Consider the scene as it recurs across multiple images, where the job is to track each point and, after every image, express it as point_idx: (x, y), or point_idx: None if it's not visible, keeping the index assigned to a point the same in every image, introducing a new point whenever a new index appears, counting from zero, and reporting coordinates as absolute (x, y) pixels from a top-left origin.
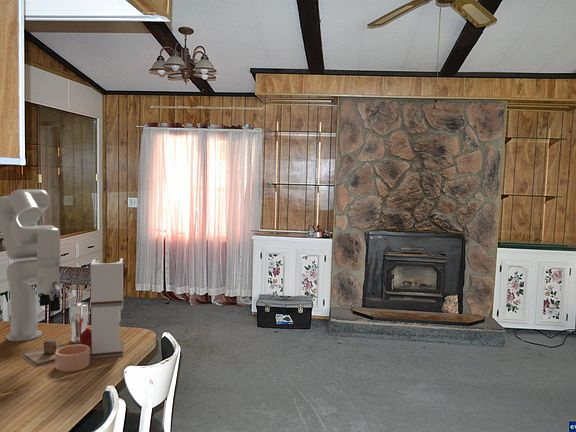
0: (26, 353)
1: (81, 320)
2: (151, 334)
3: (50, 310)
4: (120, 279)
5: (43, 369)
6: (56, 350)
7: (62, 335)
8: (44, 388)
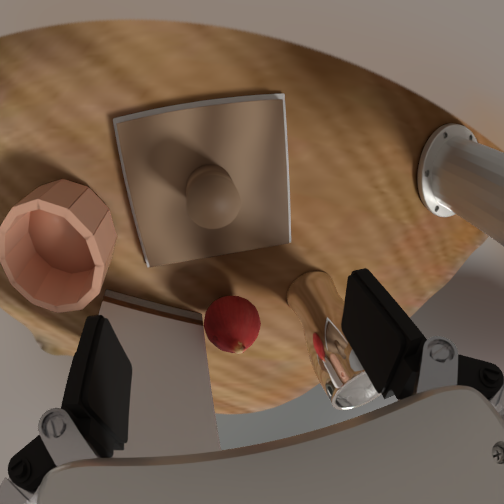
0: (266, 108)
1: (309, 350)
2: (227, 413)
3: (91, 319)
4: None
5: (87, 141)
6: (60, 207)
7: (388, 259)
8: None
